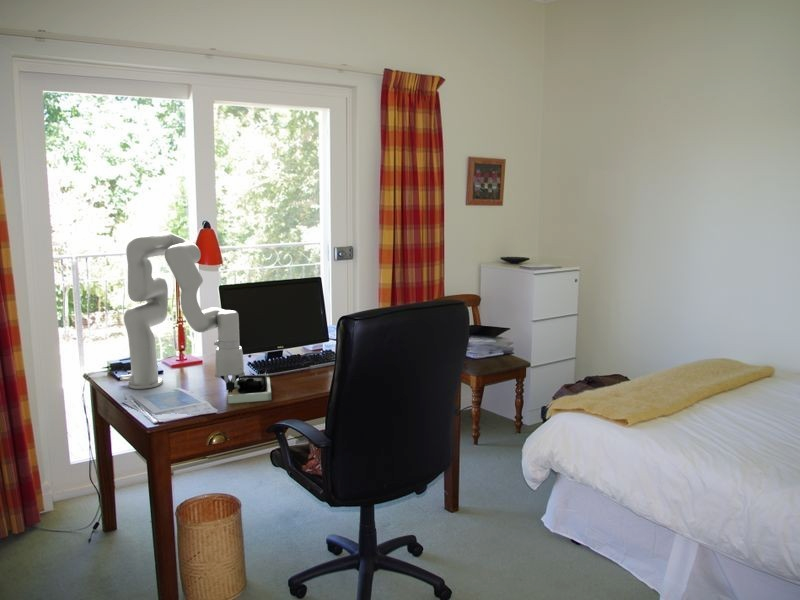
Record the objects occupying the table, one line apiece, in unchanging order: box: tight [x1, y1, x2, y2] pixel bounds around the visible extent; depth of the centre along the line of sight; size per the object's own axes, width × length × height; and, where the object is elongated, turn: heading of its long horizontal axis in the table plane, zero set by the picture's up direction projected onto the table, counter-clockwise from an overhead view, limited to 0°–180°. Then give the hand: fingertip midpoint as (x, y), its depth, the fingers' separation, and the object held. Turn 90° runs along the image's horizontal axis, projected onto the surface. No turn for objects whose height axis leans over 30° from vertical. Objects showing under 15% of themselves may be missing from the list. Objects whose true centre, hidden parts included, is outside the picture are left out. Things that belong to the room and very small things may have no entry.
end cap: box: [237, 374, 268, 394], centre depth 244 cm, size 10×7×7 cm
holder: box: [227, 376, 272, 404], centre depth 244 cm, size 15×18×3 cm
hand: (230, 391), depth 243 cm, fingers closed
